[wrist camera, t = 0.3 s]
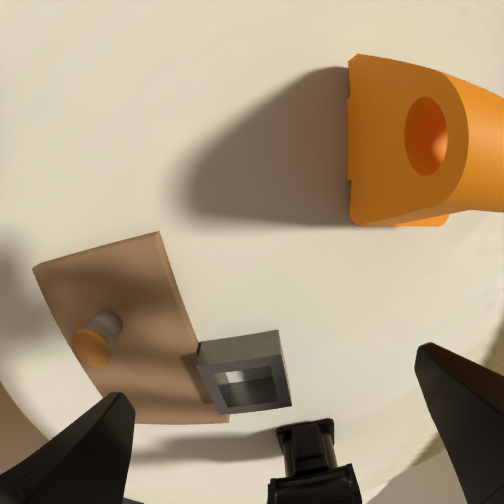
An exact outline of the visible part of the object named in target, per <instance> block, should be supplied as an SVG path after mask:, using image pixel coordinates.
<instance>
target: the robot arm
mask: <svg viewBox="0 0 504 504" xmlns="http://www.w3.org/2000/svg"><path fill="white" fill-rule="evenodd" d="M414 369H415V374H416V376H417V379H418V382H419V384H420V387H421V390H422V393H423V395H424V398H425V401H426V404H427V407H428V410H429V412H430V414H431V417H432V419H433V421H434V423H435V425H436V427H437V430H438V432H439V434H440V436H441V438H442V441H443V443H444V445H445V447H446V450H447V452H448V454H449V457H450V459H451V462H452V464H453V466H454V469H455V471H456V474H457V476H458V479H459V482H460V484H461V487H462V490H463V492H464V495H465V498H466V501H467V503H468V504H504V376H503V375H501V374H499V373H496V372H494V371H492V370H490V369H488V368H486V367H483V366H481V365H479V364H477V363H475V362H473V361H471V360H468V359H466V358H464V357H462V356H460V355H458V354H456V353H453V352H451V351H449V350H447V349H445V348H443V347H441V346H438V345H436V344H434V343H432V342H429V343H426V344H423V345H420V346H419V347H418V350H417V355H416V360H415V366H414ZM135 416H136V414H135V409H134V407H133V406H132V404H131V403H130V401H129V400H128V398H127V397H126V395H125V394H124V393H122V392H111V393H109V394H108V395H107V396H106V397H104V398H103V399H102V400H101V401H99V402H98V403H97V404H96V405H94V406H93V407H92V408H91V409H89V410H88V411H87V412H86V413H84V414H83V415H82V416H81V417H79V418H78V419H77V420H75V421H74V422H73V423H72V424H70V425H69V426H68V427H67V428H65V429H64V430H63V431H61V432H60V433H59V434H58V435H56V436H55V437H54V438H52V439H51V440H50V441H49V442H47V443H46V444H45V445H43V446H42V447H41V448H40V449H38V450H37V451H36V452H34V453H33V454H32V455H30V456H29V457H27V458H26V459H25V460H23V461H22V462H20V463H19V464H17V465H16V466H14V467H12V468H11V469H9V470H7V471H6V472H4V473H2V474H1V475H0V504H122V502H123V496H124V490H125V484H126V479H127V473H128V468H129V463H130V458H131V452H132V444H133V433H134V424H135ZM276 434H277V438H278V441H279V444H280V447H281V450H282V453H283V455H284V461H285V473H286V477H285V478H277V479H276V478H272V479H271V480H270V484H268V499H267V504H362V498H361V493H360V489H359V486H358V483H357V479H356V476H355V473H354V470H353V466H352V463H350V464H346V465H345V466H341V467H338V466H337V461H336V456H335V452H334V447H333V446H334V421H333V419H327V420H323V421H318V422H313V423H308V424H303V425H297V426H291V427H285V428H279V429H277V430H276Z"/></svg>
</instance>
